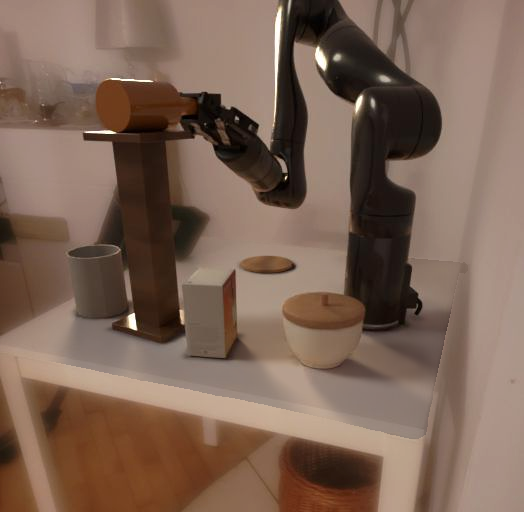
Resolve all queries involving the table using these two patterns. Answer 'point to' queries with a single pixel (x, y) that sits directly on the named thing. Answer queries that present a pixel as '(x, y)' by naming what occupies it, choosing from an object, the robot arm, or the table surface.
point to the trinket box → (322, 327)
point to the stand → (147, 230)
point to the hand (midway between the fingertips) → (189, 98)
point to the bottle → (141, 105)
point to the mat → (267, 264)
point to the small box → (210, 311)
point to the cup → (98, 280)
